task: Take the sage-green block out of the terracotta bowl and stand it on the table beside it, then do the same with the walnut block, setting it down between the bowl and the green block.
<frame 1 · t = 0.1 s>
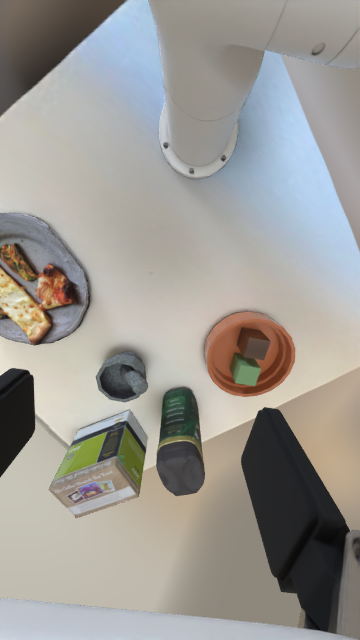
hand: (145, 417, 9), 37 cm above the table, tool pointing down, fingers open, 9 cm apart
mortar and pestle: (131, 362, 50), on the table
bowl: (243, 348, 49), on the table
walnut block: (248, 337, 47), point 1 cm above the table, touching bowl
food plate: (29, 283, 44), on the table
tea box: (114, 432, 57), on the table
sage-green block: (240, 362, 49), point 1 cm above the table, touching bowl
coffee jar: (180, 403, 54), on the table
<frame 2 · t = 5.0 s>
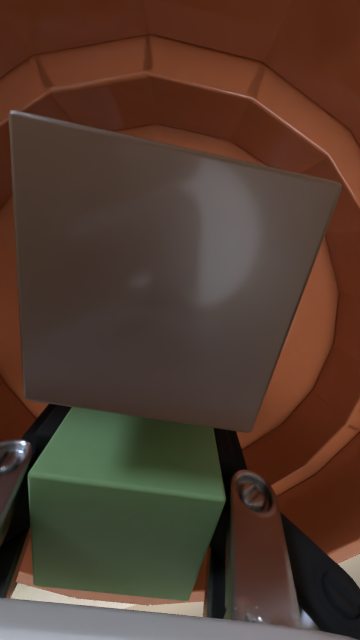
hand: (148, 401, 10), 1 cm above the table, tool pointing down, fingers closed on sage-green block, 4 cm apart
bowl: (160, 334, 10), on the table
walnut block: (171, 269, 9), point 1 cm above the table, touching bowl
sage-green block: (149, 396, 10), point 1 cm above the table, touching bowl, gripper
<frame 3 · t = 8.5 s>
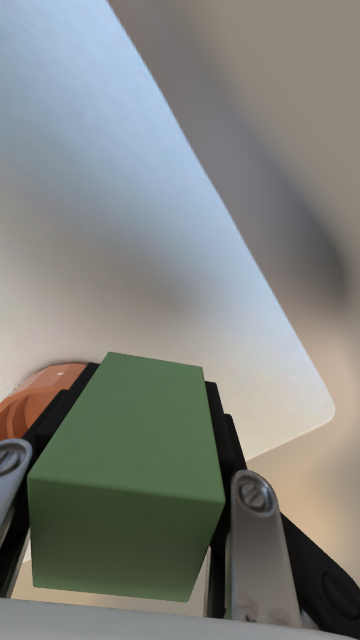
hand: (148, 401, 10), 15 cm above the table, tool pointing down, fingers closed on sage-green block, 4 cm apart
bowl: (84, 419, 29), on the table
sage-green block: (149, 397, 10), point 15 cm above the table, touching gripper
when the fingers open (0 cm above the table, at t = 12.4 s): sage-green block stays where it is, on the table.
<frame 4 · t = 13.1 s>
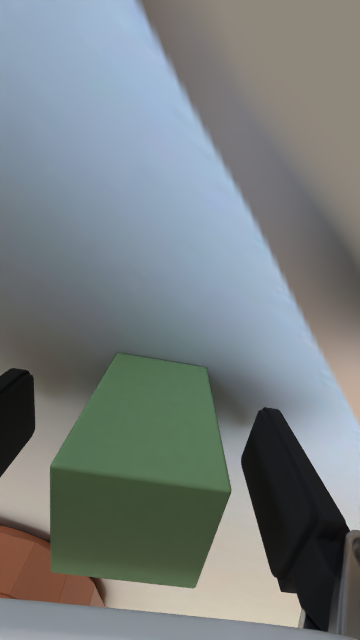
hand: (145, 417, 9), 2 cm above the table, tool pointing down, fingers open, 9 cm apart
sage-green block: (155, 396, 11), on the table
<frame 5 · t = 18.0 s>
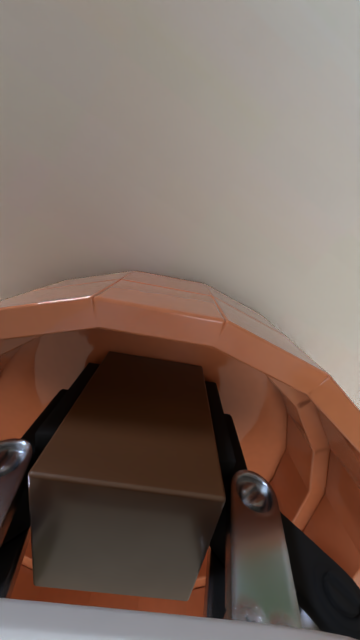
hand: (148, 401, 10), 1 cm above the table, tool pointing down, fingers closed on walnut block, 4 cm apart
bowl: (143, 435, 12), on the table
walnut block: (149, 396, 10), point 1 cm above the table, touching bowl, gripper
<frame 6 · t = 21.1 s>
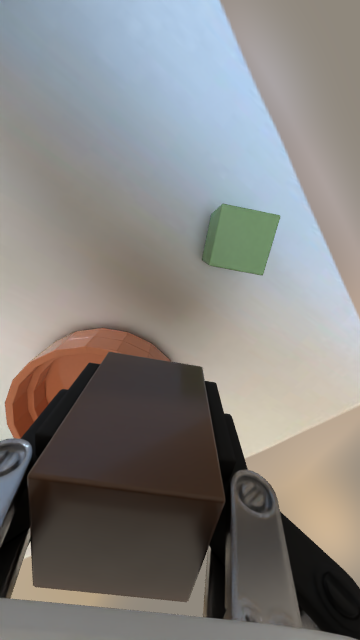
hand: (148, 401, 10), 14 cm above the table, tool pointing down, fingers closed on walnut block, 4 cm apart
bowl: (110, 393, 27), on the table
walnut block: (149, 397, 10), point 14 cm above the table, touching gripper
sage-green block: (227, 241, 21), on the table
when the fingers open (0 cm above the table, at t = 24.5 s): walnut block stays where it is, on the table.
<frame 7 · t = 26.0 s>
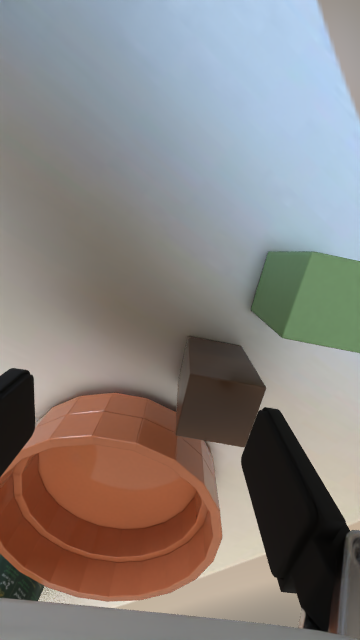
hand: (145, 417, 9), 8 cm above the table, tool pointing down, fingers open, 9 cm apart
bowl: (120, 468, 21), on the table
walnut block: (208, 364, 18), on the table
sage-green block: (287, 287, 16), on the table
coffee jar: (10, 559, 26), on the table
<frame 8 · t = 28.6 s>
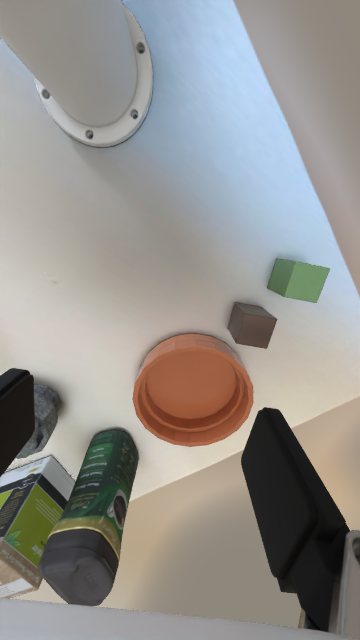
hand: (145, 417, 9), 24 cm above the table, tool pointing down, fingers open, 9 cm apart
mortar and pestle: (46, 397, 38), on the table
bowl: (191, 380, 37), on the table
walnut block: (244, 317, 33), on the table
tea box: (37, 480, 45), on the table
sage-green block: (285, 276, 31), on the table
coffee jar: (116, 446, 42), on the table
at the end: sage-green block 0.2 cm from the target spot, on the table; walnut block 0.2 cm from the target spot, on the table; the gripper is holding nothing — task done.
